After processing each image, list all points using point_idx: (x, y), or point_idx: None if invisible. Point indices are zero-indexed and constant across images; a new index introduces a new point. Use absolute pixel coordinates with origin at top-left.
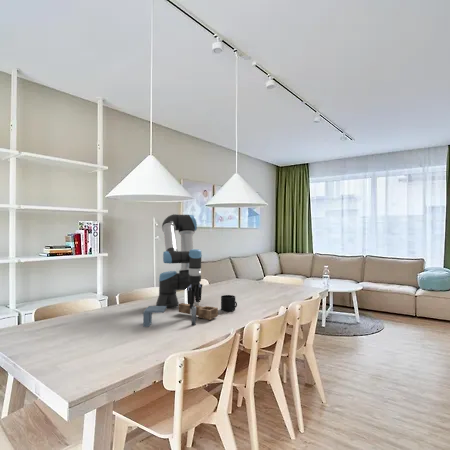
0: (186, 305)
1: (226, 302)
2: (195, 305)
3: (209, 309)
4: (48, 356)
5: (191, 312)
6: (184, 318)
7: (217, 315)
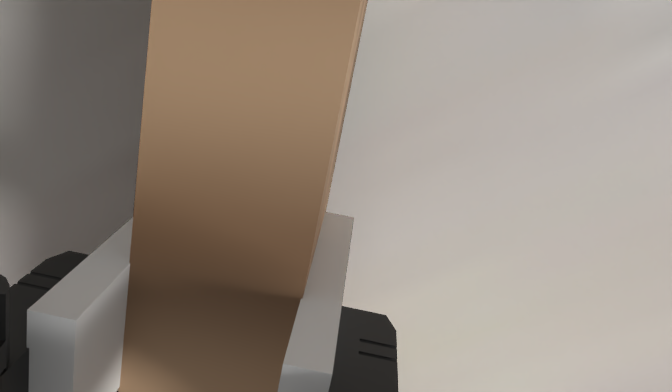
0: (147, 73)
1: None
2: (275, 354)
3: None
4: None
5: None
6: (27, 114)
7: None
